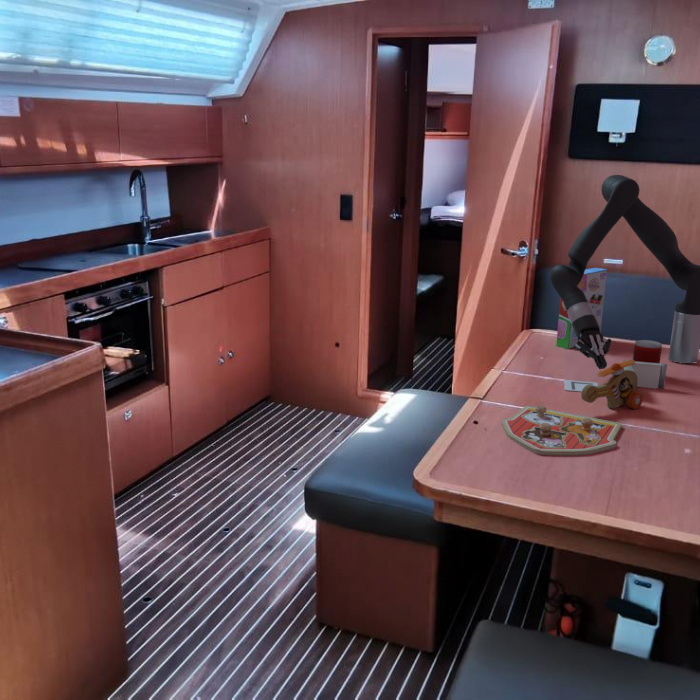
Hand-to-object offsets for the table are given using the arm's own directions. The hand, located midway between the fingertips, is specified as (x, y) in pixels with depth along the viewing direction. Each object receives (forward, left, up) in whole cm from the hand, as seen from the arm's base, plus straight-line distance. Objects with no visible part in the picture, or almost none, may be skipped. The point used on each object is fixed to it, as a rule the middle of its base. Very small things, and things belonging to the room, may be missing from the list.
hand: (603, 367), depth 225 cm
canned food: (-16, +11, -6) cm, 20 cm away
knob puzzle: (+48, -4, -6) cm, 48 cm away
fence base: (-4, +11, -5) cm, 13 cm away
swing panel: (+3, +8, -5) cm, 10 cm away
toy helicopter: (+21, +5, -6) cm, 22 cm away
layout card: (+5, -5, -5) cm, 9 cm away
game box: (-47, -15, -6) cm, 50 cm away
